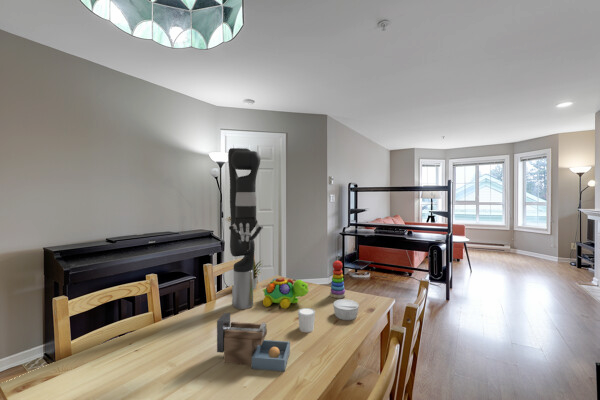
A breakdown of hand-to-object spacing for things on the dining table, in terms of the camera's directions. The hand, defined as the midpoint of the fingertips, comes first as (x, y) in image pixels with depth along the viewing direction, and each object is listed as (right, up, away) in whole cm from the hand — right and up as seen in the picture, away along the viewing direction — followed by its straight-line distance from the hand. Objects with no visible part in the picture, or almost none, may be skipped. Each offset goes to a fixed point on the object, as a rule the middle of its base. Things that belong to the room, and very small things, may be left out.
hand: (246, 250), depth 101 cm
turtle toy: (+13, -32, +32) cm, 47 cm away
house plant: (-6, -31, +53) cm, 61 cm away
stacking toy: (+40, -32, +41) cm, 65 cm away
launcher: (+3, -32, -13) cm, 35 cm away
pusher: (+1, -29, -13) cm, 32 cm away
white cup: (+23, -32, +6) cm, 40 cm away
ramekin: (+40, -32, +18) cm, 55 cm away
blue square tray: (+11, -32, -14) cm, 37 cm away
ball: (+12, -30, -14) cm, 35 cm away
